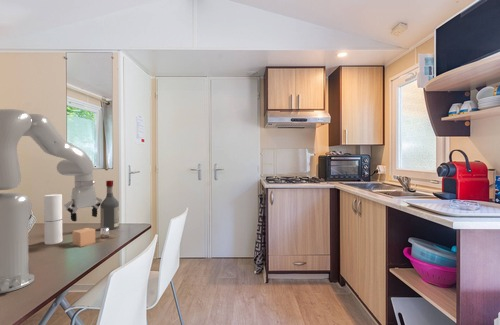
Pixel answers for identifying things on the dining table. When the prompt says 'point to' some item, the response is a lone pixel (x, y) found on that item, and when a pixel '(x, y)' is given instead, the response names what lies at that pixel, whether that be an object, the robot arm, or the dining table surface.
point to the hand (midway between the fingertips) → (84, 218)
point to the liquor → (109, 209)
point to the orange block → (83, 236)
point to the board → (98, 240)
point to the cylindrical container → (53, 218)
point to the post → (104, 232)
